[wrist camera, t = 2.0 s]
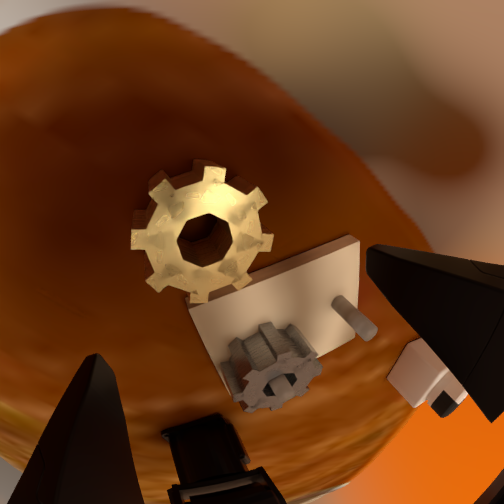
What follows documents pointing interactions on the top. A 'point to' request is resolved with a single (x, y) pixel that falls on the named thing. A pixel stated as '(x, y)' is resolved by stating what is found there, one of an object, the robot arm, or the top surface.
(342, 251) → the birch gear board
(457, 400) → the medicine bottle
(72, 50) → the top surface
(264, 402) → the grey gear
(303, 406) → the top surface
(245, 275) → the brass gear
